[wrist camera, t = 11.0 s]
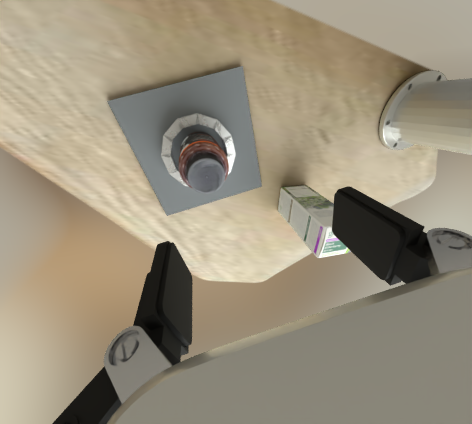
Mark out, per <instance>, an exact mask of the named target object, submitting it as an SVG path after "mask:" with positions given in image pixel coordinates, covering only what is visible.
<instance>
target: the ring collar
mask: <svg viewBox="0 0 472 424" xmlns="http://www.w3.org/2000/svg"><path fill="white" fill-rule="evenodd" d="M196 124H200V125H203V126H207V127H210V128H213V129H214V130H215V131H216V132H217V133H218V134H219V135H220V136H221V137H222V140H223V144H224V148H225V154H226V156H227V159H228V163H229V172H228V174H229V173H230V172H231V169H232V166H233V162H234V159H235V156H236V153H235V149H234V144H233V140H232V135H231V134H230V133H229V132H228V131H227V130H226V129H225V128H224V126H223V125H222V124H221V123H220V122H219V121H218V120H217V119H215V118H212V117H208V116H205V115H202V114H199V113H194V114H190V115H187V116H183V117H179V118H177V119H176V120H175V122H174V123H173V124H172V125H171V126H170V128H169V129H168V130H167V131H166V132H165V134H164V135H163V143H162V152H161V157H162V159H163V161H164V163H165V166H166V168H167V170H168V172H169V174H170V175H171V176H172V177H174V178H175V179H176V180H178V181H179V182H180V183H181V184H183V185H184V186H188V185H187V184H186V183H185V182H184V181H183V180H182V178H181V176H180V173H179V167H178V166H177V165H176V162H175V160H174V157H173V155H172V153H171V152H172V144H173V139H174V138H175V137H176V135H177V134H178V133H179V132H180V131H181V130H182V128H185V127H189V126H192V125H196ZM188 187H189V186H188Z"/></svg>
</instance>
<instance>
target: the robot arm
mask: <svg viewBox="0 0 472 424" xmlns="http://www.w3.org/2000/svg"><path fill="white" fill-rule="evenodd" d="M379 135H380V139H381V142H382V143H383V145H384V146H386V147H387V148H390V149H394V150H403V149H406V148H409V147H411V146H413V145H414V144H415V145H421V146H426V147H431V148H437V149H442V150H448V151H453V152H458V153H464V154H469V155H472V78H470V79H459V80H447V79H446V77H445V76H444V74H443V73H441V72H439V71H434V70H432V71H424V72H421V73H418V74H416V75H414V76H412V77H410V78H409V79H408V80H406V81H405V82H404V83H403V84H402V85H401V86H400V87H399V88H398V89H397V90H396V91H395V93H394V94H393V95H392V97H391V98H390V100H389V101H388V103H387V105H386V107H385V109H384V111H383V114H382V116H381V120H380V125H379ZM423 229H424V226H422V225H420V224H418V223H416V222H414V221H413V220H411V219H409V218H407V217H405V216H403V215H402V214H400V213H398V212H396V211H394V210H392V209H390V208H389V207H387V206H385V205H383V204H381V203H380V202H378V201H376V200H374V199H372V198H370V197H368V196H367V195H365V194H363V193H361V192H359V191H357V190H356V189H354V188H352V187H345V188H342V189H339V190H337V193H335V196H334V208H333V220H332V232H333V234H334V235H335V236H336V237H337V238H338V239H339V240H340V241H341V242H342V243H343V244H344V245H345V246H346V247H347V248H348V249H349V250H350V251H351V252H352V253H353V254H355V255H356V256H357V257H358V258H359V259H360V260H361V261H362V262H363V263H364V264H365V265H366V266H367V267H368V268H369V269H370V270H371V271H373V273H375V274H376V275H377V276H378V277H379V278H380V279H382V280H385V281H386V282H387V283H388V284H389V285H393V284H396V283H399V282H401V280H402V281H403V282H405V283H406V284H404V285H401V286H398V287H395V288H393V289H389V290H386V291H383V292H380V293H377V294H374V295H371V296H368V297H365V298H362V299H359V300H356V301H353V302H350V303H347V304H344V305H341V306H338V307H335V308H332V309H329V310H326V311H323V312H320V313H317V314H314V315H311V316H308V317H305V318H302V319H299V320H296V321H293V322H290V323H287V324H285V325H282V326H279V327H276V328H273V329H270V330H267V331H264V332H261V333H258V334H255V335H252V336H250V337H246V338H244V339H241V340H238V341H235V342H232V343H229V344H227V345H224V346H221V347H218V348H215V349H213V350H210V351H207V352H204V353H202V354H199V355H196V356H194V357H191V358H189V359H187V360H184V361H182V362H180V357H181V355H184V354H187V353H188V345H190V344H191V342H192V276H191V273H190V271H189V269H188V268H187V266H186V264H185V262H184V260H183V259H182V257H181V255H180V253H179V251H178V250H177V248H176V246H175V244H174V243H170V242H169V241H167V242H163V243H160V244H158V245H157V247H156V251H155V255H154V260H153V263H152V267H151V271H150V272H149V273H148V274H147V277H146V280H145V284H144V287H143V291H142V295H141V299H140V302H139V306H138V310H137V314H136V317H135V321H134V325H133V326H131V327H128V328H126V329H125V330H123V331H122V332H121V333H119V334H118V335H117V336H116V337H115V338H114V339H113V340H112V342H111V344H110V345H109V346H108V348H107V351H106V353H105V357H104V365H105V366H104V367H103V369H102V370H101V371H100V372H99V373H98V374H97V375H96V376H95V377H94V378H93V380H92V381H91V382H90V383H89V384H88V385H87V386H86V387H85V388H84V389H83V391H82V392H81V393H80V394H79V395H78V396H77V397H76V398H75V399H74V401H73V402H72V403H71V404H70V405H69V406H68V407H67V408H66V409H65V410H64V411H63V413H62V414H61V415H60V416H59V417H58V418H57V419H56V420H55V421H54V423H53V424H472V236H470V235H468V234H466V233H464V232H461V231H457V230H454V229H448V228H435V229H431V230H429V231H428V232H427V233H425V232H423Z"/></svg>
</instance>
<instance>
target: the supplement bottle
mask: <svg viewBox="0 0 472 424" xmlns="http://www.w3.org/2000/svg"><path fill="white" fill-rule="evenodd" d="M228 172H229V163H228V159H227V156H226V154H225V153H224V151H223V150H222V148H221V147H220V146H219V144H218V143H217V141H216V140H215V139H214V138H213V137H212V136H210V135H209V134H207V133H204V132H194V133H191V134H189V135H188V136H187V137H186V138H185V139H184V140H183V142H182V144H181V148H180V156H179V173H180V176H181V178H182V180H183V181H184V182H185V183H186V184H187V185H188V186H189V187H190V188H192V189H194V190H195V191H197V192H199V193H203V194H209V193H213V192H215V191H217V190H219V189H220V188H221V186H222V185H223V183H224V181H225V180H226V178H227V176H228Z"/></svg>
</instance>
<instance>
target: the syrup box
mask: <svg viewBox="0 0 472 424" xmlns="http://www.w3.org/2000/svg"><path fill="white" fill-rule="evenodd" d="M333 208H334V204H333V203H332V202H330V201H329V200H327V199H326V198H324V197H323V196H321V195H320V194H319V193H317V192H316V191H314V190H312V189H311V188H310V187H308V186H307V185H301V186H291V187H281V191H280V197H279V205H278V212H279V213H280V214H281V216H282V217H283V218H284V219H285V220H286V221H287V222H288V224H289V225H290V226H291V227H292V228H293V230H294V231H295V232H296V233H297V234H298V236H299V237H300V238H301V239H302V240H303V242H304V243H305V244H306V245H307V246H308V248H309V249H310V250H311V251H312V252H313V254H314V255H315V256H316V257H317V258H322V257H327V256H333V255H338V254H344V253H350V252H351V251H350V250H349V249H348V248H347V247H346V246H345V245H344V244H343V243H342V242H341V241H340V240H339V239H338V238H337V237H336V236H335V235H334V234H333V232H332V220H333Z"/></svg>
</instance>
